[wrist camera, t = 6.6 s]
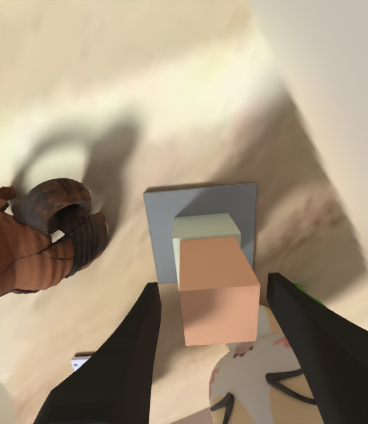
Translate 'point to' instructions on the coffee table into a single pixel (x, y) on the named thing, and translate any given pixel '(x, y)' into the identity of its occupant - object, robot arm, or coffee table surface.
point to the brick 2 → (217, 292)
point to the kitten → (262, 381)
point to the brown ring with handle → (47, 235)
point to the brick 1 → (202, 230)
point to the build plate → (192, 206)
